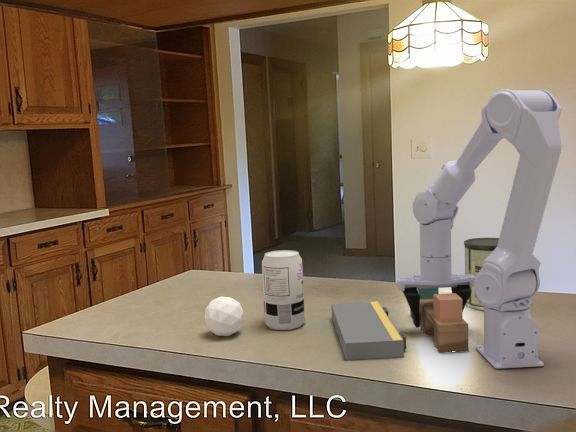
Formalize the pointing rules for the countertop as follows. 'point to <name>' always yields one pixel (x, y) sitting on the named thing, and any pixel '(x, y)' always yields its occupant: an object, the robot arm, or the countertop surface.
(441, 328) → the brown long bar
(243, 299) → the countertop surface
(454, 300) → the terracotta brick
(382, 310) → the dock
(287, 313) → the supplement can
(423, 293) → the teal crate
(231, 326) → the ball
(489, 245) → the coffee can
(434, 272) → the robot arm
